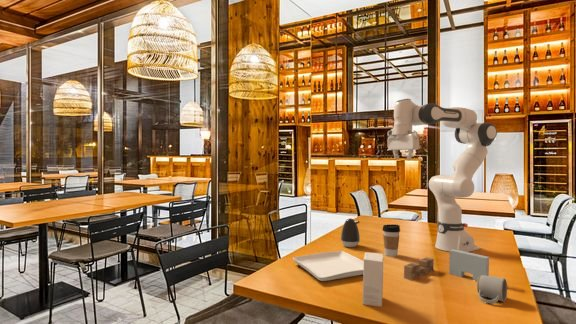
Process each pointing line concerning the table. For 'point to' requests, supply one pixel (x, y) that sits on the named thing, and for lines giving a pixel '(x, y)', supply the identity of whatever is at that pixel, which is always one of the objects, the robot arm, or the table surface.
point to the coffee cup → (391, 239)
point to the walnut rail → (418, 268)
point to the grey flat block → (468, 264)
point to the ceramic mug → (492, 288)
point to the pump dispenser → (350, 233)
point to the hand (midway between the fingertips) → (402, 159)
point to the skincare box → (373, 279)
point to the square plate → (331, 265)
